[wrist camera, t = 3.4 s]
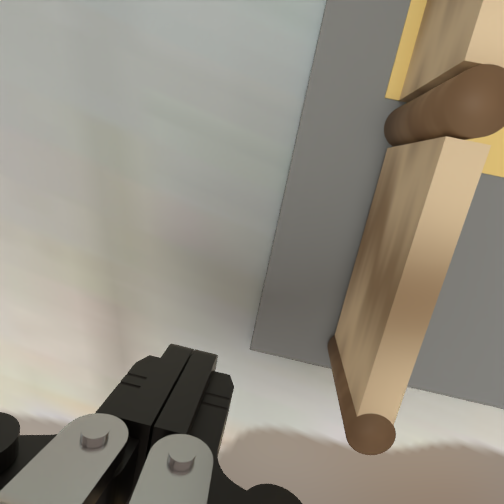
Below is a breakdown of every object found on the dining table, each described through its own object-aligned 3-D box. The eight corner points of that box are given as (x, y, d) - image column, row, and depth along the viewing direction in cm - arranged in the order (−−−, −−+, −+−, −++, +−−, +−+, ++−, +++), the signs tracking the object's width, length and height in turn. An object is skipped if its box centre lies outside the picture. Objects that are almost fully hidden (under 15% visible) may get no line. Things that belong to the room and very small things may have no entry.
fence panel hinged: (382, 147, 16) (438, 134, 10) (420, 154, 15) (498, 147, 10) (324, 357, 18) (340, 448, 12) (355, 365, 18) (387, 459, 12)
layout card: (376, -226, 14) (381, -246, 13) (857, -153, 13) (888, -172, 12) (250, 344, 19) (249, 350, 19) (574, 419, 19) (585, 429, 18)
